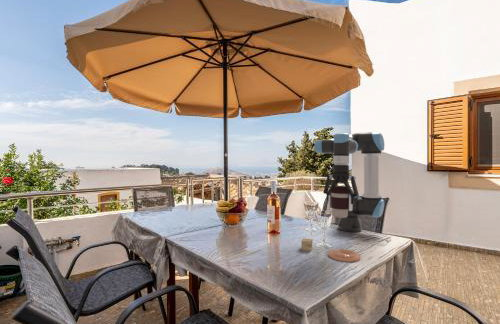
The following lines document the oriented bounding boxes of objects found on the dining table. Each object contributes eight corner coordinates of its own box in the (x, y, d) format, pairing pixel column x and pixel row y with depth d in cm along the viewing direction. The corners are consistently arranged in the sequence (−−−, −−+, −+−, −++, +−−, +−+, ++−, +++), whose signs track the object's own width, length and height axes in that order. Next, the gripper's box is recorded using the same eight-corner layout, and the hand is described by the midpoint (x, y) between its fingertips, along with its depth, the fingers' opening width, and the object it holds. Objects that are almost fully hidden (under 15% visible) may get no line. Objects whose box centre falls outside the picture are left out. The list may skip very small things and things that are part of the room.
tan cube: (302, 247, 149) (302, 237, 148) (312, 248, 147) (312, 238, 147) (301, 250, 144) (301, 240, 144) (311, 251, 142) (311, 241, 142)
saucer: (335, 249, 146) (335, 247, 146) (364, 255, 136) (364, 253, 136) (323, 256, 134) (323, 254, 134) (354, 264, 124) (354, 262, 124)
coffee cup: (336, 218, 132) (337, 187, 132) (325, 214, 141) (326, 185, 141) (354, 218, 134) (355, 187, 134) (343, 214, 144) (343, 185, 144)
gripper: (316, 164, 142) (316, 207, 142) (361, 165, 128) (360, 213, 128) (323, 164, 148) (322, 205, 148) (366, 165, 133) (365, 211, 133)
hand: (340, 209), depth 138 cm, fingers closed on coffee cup, 10 cm apart
